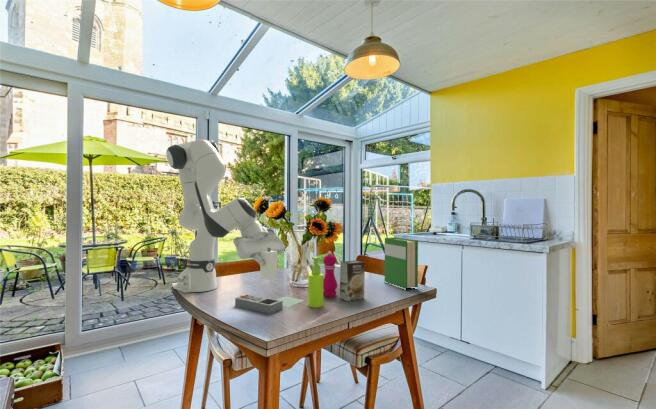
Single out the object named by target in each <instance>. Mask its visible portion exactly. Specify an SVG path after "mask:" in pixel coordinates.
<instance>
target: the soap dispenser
mask: <svg viewBox="0 0 656 409" xmlns="http://www.w3.org/2000/svg"><path fill="white" fill-rule="evenodd" d="M324 258H325V257H324V256H319V255H318V256H313V257H312V258H311V259H312V260H313V265H311V273H309V274H308V293H307V294H308V296H307V297H308V301H307V302H308V304H307V305H308V307H310V308H321V307H323V306H324V296H323V291H324V290H323V279H324V274H323V273H321V265H320V264H319V259H322V260H323V259H324Z"/></svg>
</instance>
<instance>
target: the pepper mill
mask: <svg viewBox="0 0 656 409" xmlns="http://www.w3.org/2000/svg"><path fill="white" fill-rule="evenodd" d="M323 257H325V258H324V259H323V258H322V263H323V264H324V265H323V269H324V272H325V273H324V276H323V297H326V298H332V297H334V298H335V297H336V296H337V291H336V290H337V289H338V281H337V279H336V276H335V269H336V265H335V264H336V263H337V257H336V256H335V255H333V253H332V251H330V250H329V251H328V252H327V254H326V255H324V256H323Z"/></svg>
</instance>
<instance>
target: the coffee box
mask: <svg viewBox="0 0 656 409" xmlns="http://www.w3.org/2000/svg"><path fill="white" fill-rule="evenodd" d="M339 263H340V267H339V270H340V271H339V299H341V300H343V299H344V301H346V302H351V300H353V301H357V300H356V299H359V300H362V299H361V298H364V299H365V274H366V273H365V272H366V270H365V266H366V262H365V261H361V260H347V261H346V260H344V261H340V262H339Z"/></svg>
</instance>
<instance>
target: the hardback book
mask: <svg viewBox="0 0 656 409" xmlns="http://www.w3.org/2000/svg"><path fill="white" fill-rule="evenodd" d="M418 273H419V240H416V239H411V238H409V239H408V238H403V237H396V236H395V237H384V282H385V281H386V282H388V283H391V284H394V285H397V286H400V287H403V288H411V287H418V288H419V285H418V284H419V279H418V278H419V274H418ZM411 289H412V288H411Z"/></svg>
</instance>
